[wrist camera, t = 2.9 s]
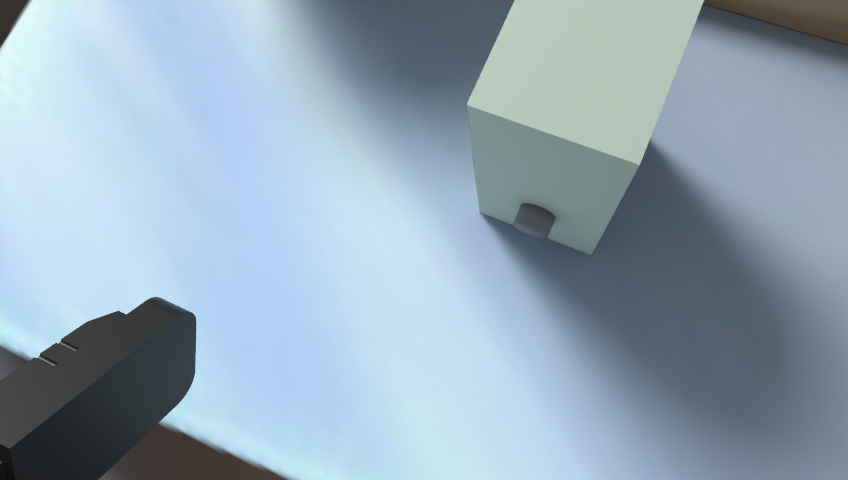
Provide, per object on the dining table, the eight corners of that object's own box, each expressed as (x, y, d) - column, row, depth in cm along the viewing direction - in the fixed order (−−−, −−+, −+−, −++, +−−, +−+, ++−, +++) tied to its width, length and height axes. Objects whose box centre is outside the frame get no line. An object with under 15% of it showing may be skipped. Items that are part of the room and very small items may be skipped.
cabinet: (584, 272, 26) (629, 191, 17) (472, 229, 28) (455, 129, 18) (640, 130, 28) (711, -20, 18) (531, 94, 29) (544, -66, 19)
